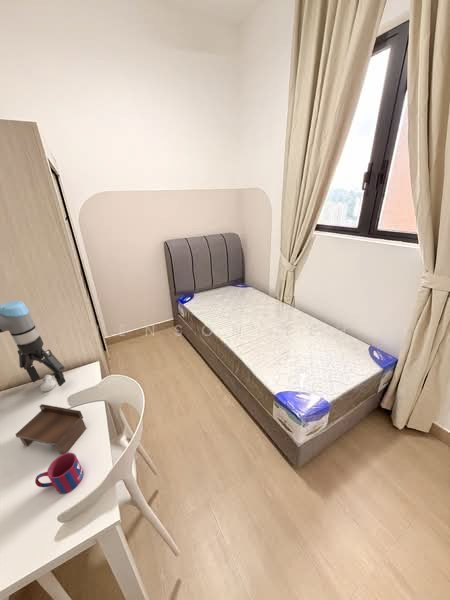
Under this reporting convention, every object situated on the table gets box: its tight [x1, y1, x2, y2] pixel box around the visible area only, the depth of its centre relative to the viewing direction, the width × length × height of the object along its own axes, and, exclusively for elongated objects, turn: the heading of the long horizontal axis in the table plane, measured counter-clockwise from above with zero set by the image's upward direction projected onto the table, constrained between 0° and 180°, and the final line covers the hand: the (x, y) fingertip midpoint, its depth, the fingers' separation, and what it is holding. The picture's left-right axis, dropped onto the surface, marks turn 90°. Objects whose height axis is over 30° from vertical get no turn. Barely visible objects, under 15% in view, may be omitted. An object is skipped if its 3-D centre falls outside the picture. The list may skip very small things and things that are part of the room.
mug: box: [34, 452, 84, 494], centre depth 65 cm, size 7×10×7 cm
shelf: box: [14, 403, 88, 455], centre depth 77 cm, size 16×10×8 cm, turn 77°
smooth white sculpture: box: [39, 374, 57, 392], centre depth 100 cm, size 4×8×5 cm
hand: (49, 381), depth 100 cm, fingers open, 13 cm apart
